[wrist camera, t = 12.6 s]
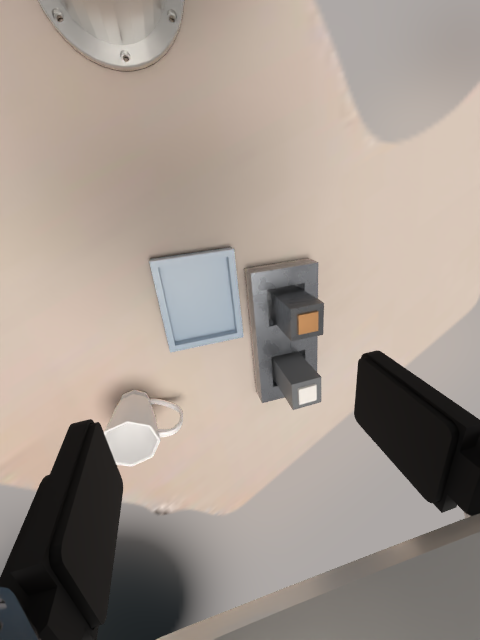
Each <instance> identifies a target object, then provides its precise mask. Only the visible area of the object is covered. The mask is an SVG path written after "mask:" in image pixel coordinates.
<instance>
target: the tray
mask: <svg viewBox="0 0 480 640" xmlns="http://www.w3.org/2000/svg"><path fill="white" fill-rule="evenodd" d="M149 263H150V267H151V272H152V276H153V280H154V284H155V289H156V293H157V297H158V302H159V306H160V310H161V315H162V319H163V323H164V328H165V332H166V336H167V341H168V345H169V349H170V352H175V351H179V350H184V349H189V348H194V347H198V346H203V345H208V344H213V343H218V342H222V341H227V340H232V339H237V338H241V337H243V327H242V318H241V309H240V300H239V290H238V281H237V272H236V263H235V253H234V249H233V248H232V247H227V248H221V249H214V250H207V251H200V252H193V253H187V254H180V255H173V256H166V257H159V258H153V259H150V260H149Z"/></svg>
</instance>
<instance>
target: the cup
mask: <svg viewBox="0 0 480 640" xmlns="http://www.w3.org/2000/svg"><path fill="white" fill-rule="evenodd" d="M151 404H158V405H163V406H166V407H169V408H172V409H174V410H176V411H178V412H179V414H180V416H181V417H180V420H179V423H178V424H177V425H176V426H175V427H174V428H171V429H158V427H157V422H156V416H155V413H154V411H153V408H152V406H151ZM182 422H183V411H182V409H181V408H180V407H179V406H178V405H176V404H174V403H171V402H169V401H165V400H162V399H156V398H153V399H150V398H149V396H148V395H147V393H146V392H143V391H138V390H132V391H130V392H127V393H125V394H123V395H122V397H121V400H120V402H119V403H118V405H117V406H116V408H115V410H114V412H113V414H112V417H111V419H110V421H109V423H108V425H107V427H106V429H105V432H104V435H105V437H106V440H107V442H108V445H109V447H110V450H111V452H112V455H113V457H114V460H115V463H116V465H124V466H135V465H137V464H139V463H141V462H143V461H145V460H148V459H150V458H152V457H153V456H154V453H155V451H156V449H157V447H158V445H159V443H160V437H166V436H171V435H173V434H175V433H176V432H177V431H178V430H179V429H180V428H181V425H182Z"/></svg>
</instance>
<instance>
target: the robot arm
mask: <svg viewBox="0 0 480 640" xmlns="http://www.w3.org/2000/svg"><path fill="white" fill-rule="evenodd" d="M38 2H39V4H40V6H41V7H42V9H43V11H44V12H45V14H46V16H47V17H48V19H49V20H50V22H51V23H52V25H53V26H54V27H55V28H56V30H57V31H58V32H59V33H60V35H61V36H62V37H63V38H64V39H65V40H66V41H67V42H68V43H69V44H70V45H71V46H72V47H73V48H74V49H75V50H76V51H78V52H79V53H81V54H82V55H84V56H85V57H86V58H88V59H89V60H91V61H93V62H95V63H97V64H99V65H102V66H104V67H107V68H111V69H115V70H120V71H133V70H138V69H143V68H146V67H148V66H150V65H152V64H154V63H156V62H157V61H158V60H159V59H160V58H161V57H163V56H164V55H165V54H166V52H167V51H168V50H169V48H170V47H171V46H172V44H173V42H174V40H175V38H176V36H177V34H178V32H179V28H180V24H181V20H182V16H183V8H184V0H38ZM59 18H63V21H62V22H58V19H59ZM170 18H172V19H174V21H175V22H170V21H169V19H170ZM124 57H127V58H128V59H129V61H128V62H125V61H124V60H123V59H124ZM354 415H355V419H356V421H357V422H358V423H359V425H360V426H361V427H362V428H363V429H364V430H365V432H366V433H367V434H368V435H369V436H370V437H371V438H372V440H373V441H374V442H375V443H376V444H377V445H378V446H379V447H380V448H381V450H382V451H383V452H384V453H385V454H386V455H387V457H388V458H389V459H390V460H391V461H392V462H393V463H394V464H395V466H396V467H397V468H398V469H399V470H400V471H401V472H402V474H403V475H404V476H405V477H406V478H407V479H408V480H409V481H410V482H411V484H412V485H413V486H414V487H415V488H416V489H417V490H418V492H419V493H420V494H421V495H422V496H423V497H424V498H425V499H426V500H427V501H428V502H430V503H433V504H434V505H435V506H436V507H437V508H438V509H439V510H440V511H441V512H445V511H448V510H450V509H453V508H455V507H456V506H457V505H458V506H459V507H460V508H461V509H462V510H463V511H464V514H465V519H463V520H460V521H457V522H455V523H452V524H450V525H447V526H444V527H442V528H439V529H437V530H434V531H431V532H429V533H426V534H423V535H421V536H418V537H416V538H413V539H410V540H408V541H405V542H402V543H400V544H397V545H394V546H392V547H389V548H387V549H384V550H381V551H379V552H376V553H374V554H372V555H369V556H366V557H363V558H361V559H358V560H356V561H353V562H351V563H348V564H345V565H343V566H340V567H338V568H335V569H332V570H330V571H327V572H325V573H322V574H320V575H317V576H315V577H312V578H309V579H307V580H304V581H302V582H299V583H296V584H294V585H291V586H289V587H286V588H284V589H281V590H279V591H276V592H274V593H271V594H268V595H266V596H263V597H261V598H258V599H256V600H253V601H251V602H248V603H246V604H243V605H241V606H238V607H236V608H233V609H230V610H228V611H225V612H223V613H220V614H218V615H215V616H213V617H210V618H208V619H205V620H203V621H200V622H198V623H195V624H193V625H190V626H188V627H185V628H182V629H180V630H178V631H175V632H173V633H171V634H168V635H166V636H163V637H161V638H159V639H156V640H480V420H479V419H478V418H476V417H475V416H474V415H472V414H471V413H469V412H468V411H466V410H465V409H463V408H462V407H460V406H459V405H458V404H456V403H455V402H453V401H452V400H450V399H449V398H447V397H446V396H444V395H443V394H442V393H440V392H439V391H437V390H436V389H434V388H433V387H431V386H430V385H428V384H427V383H426V382H424V381H423V380H421V379H420V378H418V377H417V376H416V375H414V374H413V373H411V372H410V371H408V370H407V369H405V368H404V367H402V366H401V365H400V364H398V363H397V362H395V361H394V360H392V359H391V358H389V357H388V356H387V355H385V354H384V353H382V352H380V351H373V352H369V353H365V354H363V355H362V357H361V359H359V361H358V372H357V384H356V397H355V410H354ZM122 494H123V482H122V478H121V475H120V473H119V470H118V468H117V465H116V463H115V460H114V457H113V455H112V452H111V450H110V447H109V445H108V442H107V440H106V437H105V435H104V432H103V430H102V427H101V425H100V423H99V422H97V423H94V422H93V420H91V419H90V420H86V421H81V422H77V423H73V424H71V425H70V427H69V429H68V431H67V434H66V436H65V439H64V441H63V444H62V446H61V449H60V451H59V454H58V456H57V458H56V461H55V463H54V466H53V468H52V471H51V473H50V475H47V476H46V477H44V478H43V480H42V482H41V483H40V485H39V488H38V490H37V492H36V495H35V497H34V500H33V502H32V504H31V507H30V509H29V511H28V514H27V516H26V518H25V521H24V523H23V525H22V528H21V530H20V533H19V535H18V537H17V540H16V542H15V544H14V546H13V549H12V551H11V553H10V556H9V558H8V561H7V563H6V565H5V568H4V570H3V572H2V575H1V577H0V640H97V633H98V626H99V625H102V624H104V622H105V619H106V615H107V608H108V600H109V593H110V585H111V578H112V570H113V563H114V555H115V548H116V539H117V532H118V525H119V517H120V510H121V502H122Z"/></svg>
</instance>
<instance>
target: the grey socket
mask: <svg viewBox="0 0 480 640" xmlns="http://www.w3.org/2000/svg"><path fill="white" fill-rule="evenodd" d="M244 269H245V279H246V290H247V300H248V310H249V321H250V331H251V342H252V352H253V362H254V373H255V383H256V392H257V394H258V396H259V398H260V400H261V402H262V403H264V402H268V401H272V400H276V399H280V398H284V397H285V396H284V395H283V393H282V392H281V390H280V389H279V387H278V385H277V384H276V382H275V381H274V379H273V376H272V361H271V357H274V356H279V355H283V354H287V353H292V352H296V351H298V352H299V353H300V354H301V355H302V356H303V357H304V359H305V360H306V361H307V362H308V363H309V364H310V365H311V366H312V367H313V369H314V370H315V371H316V372H317V336H319V335H323V315H324V303H323V302H322V301H320V300H319V299H318V262H316V261H313V260H311V259H308V258H305V259H299V260H293V261H287V262H281V263H275V264H269V265H262V266H256V267H250V268H244Z"/></svg>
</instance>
